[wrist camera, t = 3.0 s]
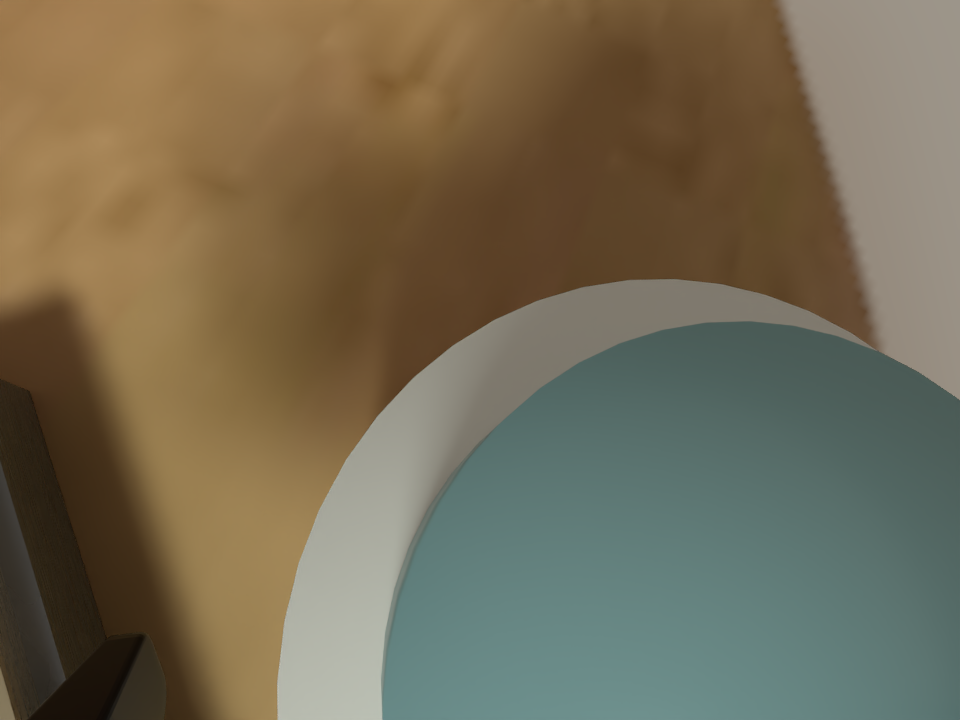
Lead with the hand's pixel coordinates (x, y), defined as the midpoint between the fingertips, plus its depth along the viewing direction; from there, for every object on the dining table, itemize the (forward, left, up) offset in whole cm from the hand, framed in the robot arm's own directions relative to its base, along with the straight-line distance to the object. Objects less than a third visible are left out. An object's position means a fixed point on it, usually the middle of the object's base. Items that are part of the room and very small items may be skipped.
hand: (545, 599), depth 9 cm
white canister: (0, 0, -9) cm, 9 cm away
